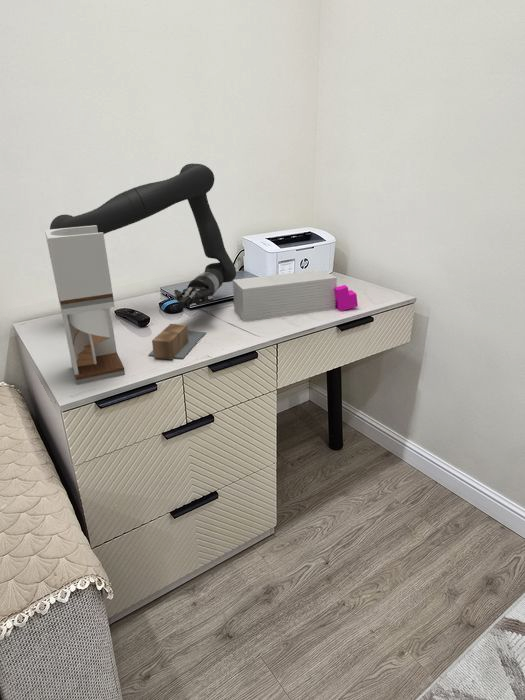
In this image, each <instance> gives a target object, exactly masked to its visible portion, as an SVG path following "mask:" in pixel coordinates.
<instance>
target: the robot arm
mask: <svg viewBox="0 0 525 700" xmlns="http://www.w3.org/2000/svg"><path fill="white" fill-rule="evenodd" d="M214 184H215V174H214V173H213V170H212V169H211V168H210V167H208V166H206V165H205V164H201V163H187V164H185V165H183V167H182V168H181V169H180V171H179V173H178V174H177V175H174V176H172V177H169V178H167V179H163V180H159V181H155V182H154V181H153V182H149V183H146V184H142V185H138V186H135V187H132V188H130V189H127V190H125V191H122V192H120V193H118V194H117V195H115V196H113V197H112V198H110V199H108V200H107V201H105V202H104V203H103V204H102V205H100V206H98V207H97V208H95V209H92V210H90V211H87V212H85V213H81V214H79V215H70V214H60V215H57V216H56V217H55V218H53V219H52V220H51V223H50V226H49V230H50V229H61V228H72V227H83V226H94V225H97V229H98V233H101V232H103V234H104V235H107V234H108V233H110V232H114V231H117V230H119V229H122V228H124V227H127V226H130V225H133V224H135V223H138V222H140V221H143V220H145V219H147V218H150V217H152V216H153V215H155V214H157V213H160V212H161V211H164V210H166V209H168V208H170V207H171V206H173V205H176V204H178V203H181V202H184V201H186V200H187V201H188V204H189V207H190V209H191V211H192V215H193V217H194V218H193V219H194V221H195V224H196V227H197V230H198V234H199V238H200V241H201V245H202V249H203V252H204V255H205V257H206V258H207V259H214V260H217V261H218V262H213V263H212V262H211V263H209V264H207V265H206V266H205V268H204V272H202V273H201V274H199V275H198V276H196V277H195V278H193V279H192V280H191V281H190V282H189V284H187V287H186V288H184V289H183V290H178V289H175V290H174V291H173V292H174V299H175V300H176V301H177V302H178V305H179V307H180V309H187V308H188V307H190V306H193V305H202V304H206V303H209V302H213V301H215V300H214V299H215V298H214V294H215V293H216V292H218V290H219V289H220V288H221V286H222V285H223V283H230V282H233V280H236V276H237V270H236V266H235V264H234V262H233V261H232V258H231V257H230V256H229V253H228V252H227V250H226V248H225V244H224V241H223V240H224V239H223V236H222V233H221V229H220V227H219V225H218V222H217V220H216V218H215V216H214V214H213V211H212V209H211V207H210V203H209V200H208V195H207V194H208V193H209V192H210V191H211V190H212V189H213V187H214Z"/></svg>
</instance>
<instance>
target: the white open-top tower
mask: <svg viewBox="0 0 525 700" xmlns="http://www.w3.org/2000/svg"><path fill="white" fill-rule="evenodd" d="M44 234H45V238H46V243H47V247H48V252H49V254H48V255H49V258H50V264H51V268H52V272H53V273H52V274H53V276H54V281H55V282H54V283H55V287H56V293H57V298H58V301H59V302H58V303H59V306H60V313H61V316H62V321H63V328H64V332H65V337H66V341H67V346H68V351H69V356H70V362H71V366H72V371H73V375H74V378H75V382H76V385H82V384H87V383H91V382H96V381H101V380H105V379H111V378H116V377H119V376H120V377H121V376H124V375H126V372H125V367H124V365H123V362H122V360H121V358H120V356H119V353H118V352H117V351H118V350H117V345H116V339H115V338H116V337H115V332H114V326H113V320H112V319H113V318H112V315H111V313H112V312H111V309H113V308H115V301H114V293H113V287H112V280H111V279H112V278H111V273H110V268H109V260H108V254H107V248H106V240H105V234H103V232H101V233H98V229H97V225H94V226H83V227H72V228H61V229H50V228H49V229H45V230H44Z"/></svg>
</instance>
